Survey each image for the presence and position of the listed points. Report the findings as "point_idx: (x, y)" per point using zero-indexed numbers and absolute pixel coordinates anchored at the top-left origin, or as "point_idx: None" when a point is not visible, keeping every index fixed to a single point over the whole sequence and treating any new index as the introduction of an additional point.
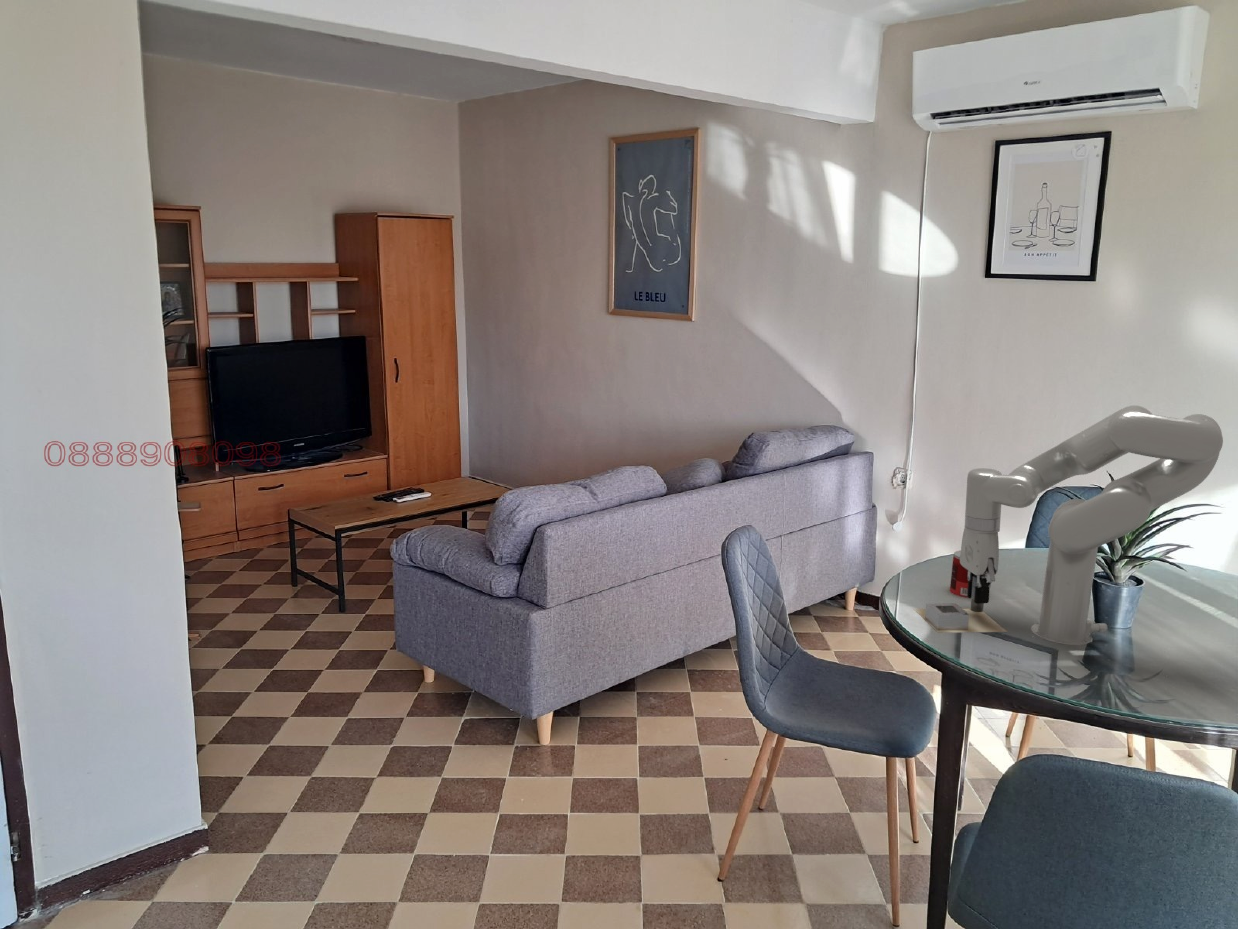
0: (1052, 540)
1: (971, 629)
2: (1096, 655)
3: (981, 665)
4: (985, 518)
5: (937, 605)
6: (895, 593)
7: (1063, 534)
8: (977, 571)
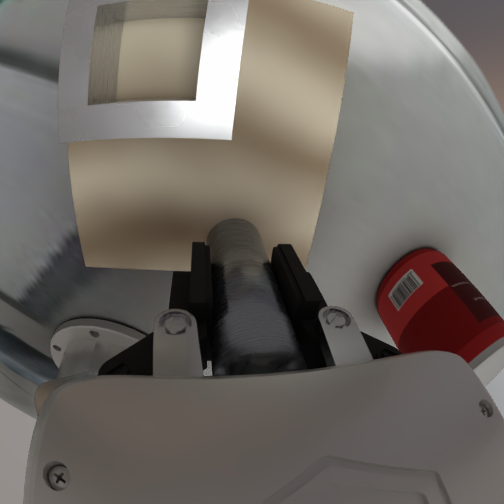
0: None
1: (92, 145)
2: (46, 365)
3: None
4: None
5: (212, 13)
6: (491, 103)
7: None
8: (49, 414)
